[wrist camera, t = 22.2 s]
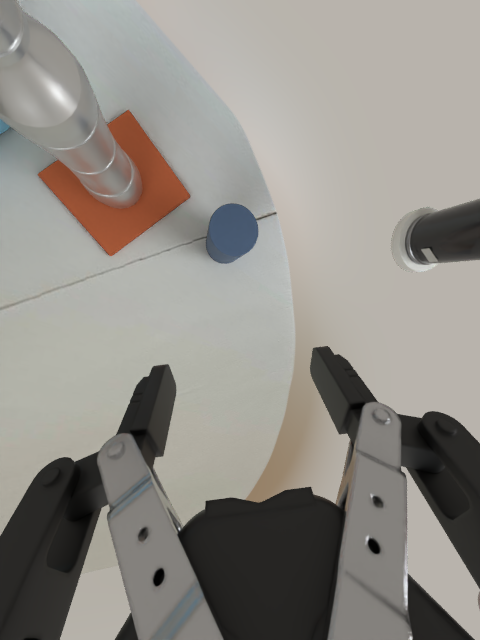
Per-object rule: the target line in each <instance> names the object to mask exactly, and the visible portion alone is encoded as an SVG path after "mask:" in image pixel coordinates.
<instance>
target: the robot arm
mask: <svg viewBox="0 0 480 640" xmlns="http://www.w3.org/2000/svg"><path fill="white" fill-rule="evenodd" d="M405 248H406V252H407V255H408V257H409V258H410V259H411V261H413V262H414V263H416V264H418V265H429V264H434V263H447V262H458V261H470V260H480V199H477V200H474V201H470V202H467V203H464V204H460V205H457V206H454V207H451V208H447V209H443V210H440V211H437V212H433V213H428V214H425V215H422V216H420V217H418V218H417V219H415V220H414V221H413V222H412V224H411V225H410V227H409V229H408V231H407V234H406V238H405ZM310 372H311V376H312V379H313V381H314V383H315V385H316V387H317V389H318V391H319V393H320V395H321V398H322V400H323V402H324V404H325V406H326V408H327V410H328V412H329V414H330V416H331V418H332V420H333V422H334V424H335V426H336V429H337V431H338V433H339V434H346V433H347V434H348V436H349V438H350V442H349V447H348V452H347V457H346V462H345V467H344V472H343V477H342V481H341V485H340V488H339V492H338V496H337V500H336V504H334V503H333V502H331V501H329V500H327V499H325V498H323V497H320V496H317V495H313V492H312V489H311V487H306V488H299V489H291V490H285V491H283V492H281V493H279V494H277V495H275V496H273V497H271V498H269V499H267V500H265V501H263V502H260V503H257V502H252V501H246V500H242V499H237V498H225V499H217V500H210V501H206V506H205V510H203V511H201V512H199V513H198V514H196V515H195V516H194V517H193V518H192V519H190V520H189V521H188V522H187V524H186V525H185V526H184V527H183V525H182V523H181V521H180V519H179V517H178V515H177V513H176V511H175V510H174V508H173V506H172V504H171V502H170V500H169V498H168V496H167V494H166V492H165V490H164V488H163V486H162V484H161V482H160V480H159V478H158V476H157V474H156V472H155V470H154V468H153V464H154V460H155V457H161V456H163V455H164V450H165V445H166V440H167V435H168V430H169V426H170V421H171V416H172V411H173V406H174V401H175V396H176V383H175V380H174V378H173V375H172V372H171V369H170V367H169V365H168V364H167V365H158V366H153V367H152V370H151V372H150V375H149V376H148V377H143V379H142V380H141V381H140V382H139V383H138V384H137V386H136V388H135V391H134V393H133V396H132V398H131V400H130V404H129V405H128V408H127V410H126V413H125V415H124V417H123V420H122V422H121V425H120V427H119V430H118V432H117V434H116V435H115V436H114V437H112V438H111V439H109V440H108V441H107V442H106V443H105V444H104V445H103V446H102V448H101V449H100V451H98V452H96V453H94V454H92V455H90V456H87V457H85V458H83V459H80V460H78V461H76V462H74V461H73V460H72V459H71V458H68V457H63V458H59V459H57V460H54V461H53V462H51V463H49V464H48V465H47V466H45V467H44V468H43V469H42V470H41V471H40V472H39V473H38V474H37V475H36V477H35V478H34V480H33V481H32V483H31V484H30V486H29V488H28V490H27V491H26V493H25V495H24V497H23V498H22V500H21V502H20V503H19V505H18V507H17V509H16V510H15V512H14V514H13V515H12V517H11V519H10V521H9V522H8V524H7V526H6V527H5V529H4V531H3V533H2V534H1V536H0V640H60V637H61V633H62V631H63V627H64V624H65V621H66V618H67V615H68V612H69V608H70V605H71V602H72V599H73V596H74V593H75V590H76V587H77V583H78V580H79V577H80V574H81V571H82V568H83V565H84V561H85V558H86V555H87V552H88V549H89V546H90V543H91V539H92V536H93V533H94V530H95V527H96V524H97V521H98V517H99V514H100V511H101V508H102V507H104V506H106V505H108V504H109V507H110V512H108V514H107V521H108V525H109V529H110V533H111V537H112V541H113V545H114V548H115V552H116V556H117V560H118V564H119V568H120V571H121V575H122V579H123V583H124V587H125V590H126V594H127V598H128V602H129V606H130V610H131V613H130V615H129V617H128V618H127V620H126V622H125V624H124V625H123V627H122V628H121V630H120V632H119V634H118V635H117V637H116V638H115V640H474V639H473V638H472V637H471V636H470V635H469V634H468V633H467V632H466V631H465V630H464V629H463V628H462V627H461V626H460V625H459V624H458V623H457V622H456V621H455V620H454V619H453V618H452V617H451V616H450V615H449V614H448V613H447V612H446V611H445V610H444V609H443V608H442V607H441V606H440V605H439V604H438V603H437V602H436V601H435V600H434V599H433V598H432V597H431V596H430V595H429V594H428V593H427V592H426V591H425V590H424V589H423V588H422V587H421V586H420V585H419V584H418V583H417V582H416V581H415V580H414V579H413V578H412V577H411V576H410V575H409V574H408V573H407V480H406V475H405V473H403V472H402V471H401V466H403V467H406V468H407V470H408V471H409V473H410V474H411V476H412V478H413V479H414V481H415V483H416V484H417V486H418V488H419V489H420V491H421V493H422V494H423V496H424V497H425V499H426V501H427V502H428V504H429V506H430V507H431V509H432V511H433V512H434V514H435V516H436V517H437V519H438V520H439V522H440V524H441V526H442V527H443V529H444V530H445V532H446V534H447V536H448V537H449V539H450V541H451V542H452V544H453V545H454V547H455V549H456V550H457V552H458V554H459V555H460V557H461V559H462V560H463V562H464V564H465V565H466V567H467V569H468V570H469V572H470V574H471V575H472V577H473V579H474V580H475V582H476V583H477V585H478V587H479V588H480V443H479V442H478V441H477V440H476V439H475V438H474V437H473V436H472V435H471V434H470V433H469V432H468V431H467V430H466V428H465V427H464V426H463V425H461V423H459V422H458V421H457V420H455V419H454V418H452V417H450V416H448V415H446V414H443V413H440V412H434V411H432V412H427V413H425V414H424V416H423V417H422V418H417V417H411V416H406V415H400V414H397V413H396V412H395V411H394V410H392V409H391V408H390V407H388V406H386V405H384V404H382V403H379V402H378V401H377V400H376V399H375V397H374V396H373V394H372V393H371V392H370V390H369V389H368V388H367V386H366V385H365V384H364V382H363V381H362V380H361V378H360V377H359V376H358V374H357V373H356V371H355V370H354V369H353V367H352V366H351V365H350V363H349V362H348V361H347V360H346V359H345V358H343V357H342V356H340V355H339V354H338V355H334V353H333V352H332V351H331V349H330V348H329V347H328V346H325V347H316V348H313V351H312V359H311V365H310ZM478 604H479V609H480V592H479V595H478Z"/></svg>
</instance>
